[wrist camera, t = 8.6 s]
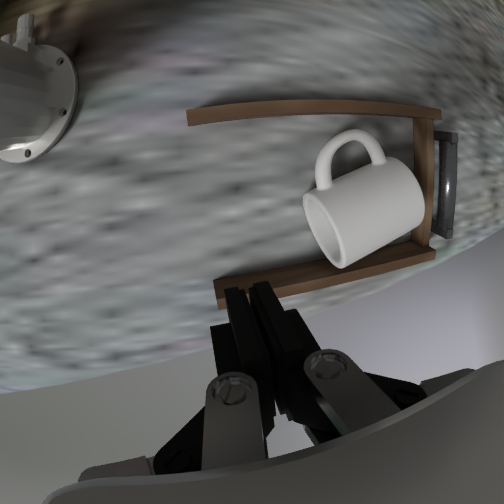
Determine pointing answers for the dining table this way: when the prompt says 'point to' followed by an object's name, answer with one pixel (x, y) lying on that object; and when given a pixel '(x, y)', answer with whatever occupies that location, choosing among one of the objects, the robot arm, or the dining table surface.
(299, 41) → the dining table surface
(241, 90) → the dining table surface
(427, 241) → the frame
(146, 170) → the dining table surface
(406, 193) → the mug
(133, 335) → the dining table surface
